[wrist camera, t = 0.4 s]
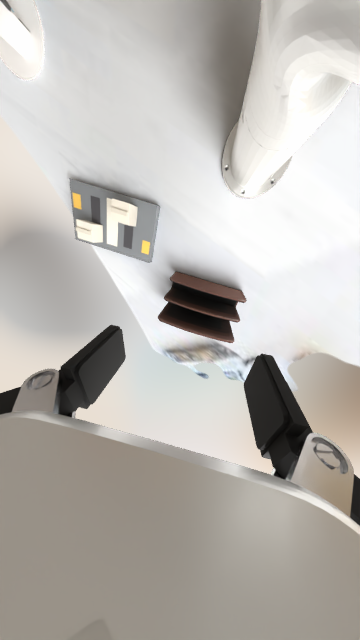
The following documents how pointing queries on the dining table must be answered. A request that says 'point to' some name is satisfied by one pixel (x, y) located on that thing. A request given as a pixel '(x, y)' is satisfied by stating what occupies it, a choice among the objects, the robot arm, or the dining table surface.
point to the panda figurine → (21, 38)
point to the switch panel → (116, 235)
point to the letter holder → (201, 307)
